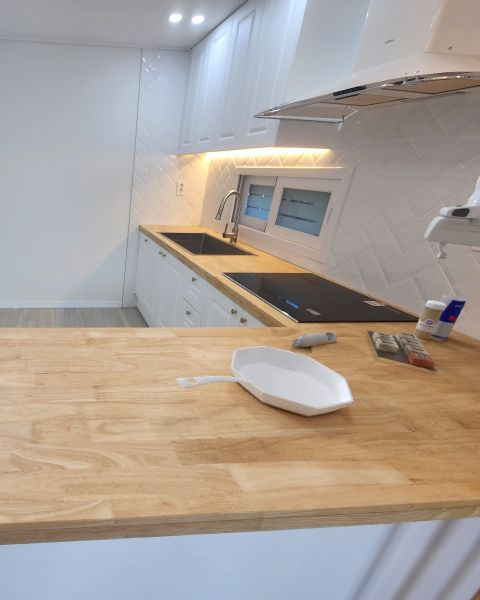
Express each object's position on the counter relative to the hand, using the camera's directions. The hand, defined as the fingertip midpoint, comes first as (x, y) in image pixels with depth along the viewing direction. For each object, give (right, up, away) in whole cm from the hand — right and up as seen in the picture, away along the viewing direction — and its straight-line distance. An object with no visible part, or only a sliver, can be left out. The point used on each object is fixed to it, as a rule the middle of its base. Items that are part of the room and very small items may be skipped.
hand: (462, 261), depth 98 cm
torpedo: (-38, -26, +9) cm, 47 cm away
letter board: (-11, -27, +9) cm, 31 cm away
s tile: (-12, -30, 0) cm, 32 cm away
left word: (-14, -26, +10) cm, 31 cm away
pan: (-69, -34, -16) cm, 79 cm away
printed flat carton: (-6, -27, +9) cm, 29 cm away
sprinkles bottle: (+6, -25, +18) cm, 31 cm away
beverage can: (+12, -24, +19) cm, 34 cm away
